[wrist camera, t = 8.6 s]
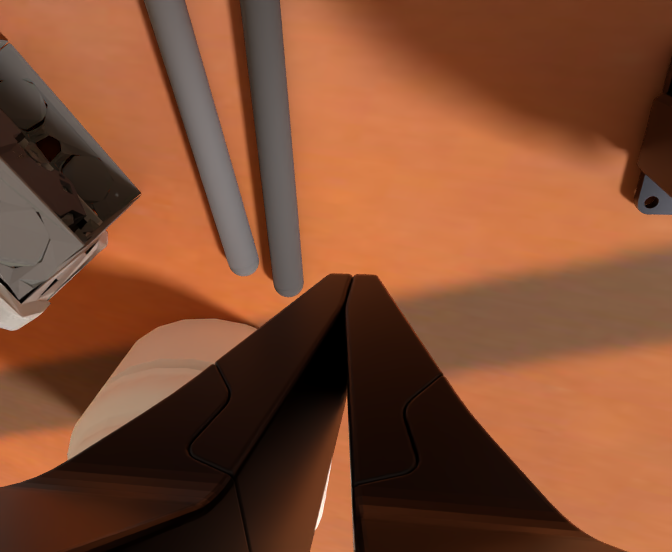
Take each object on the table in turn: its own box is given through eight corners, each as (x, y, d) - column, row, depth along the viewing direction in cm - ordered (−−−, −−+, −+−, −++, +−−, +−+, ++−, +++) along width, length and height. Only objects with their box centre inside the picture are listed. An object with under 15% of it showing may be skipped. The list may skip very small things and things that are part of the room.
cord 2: (272, -142, 17) (261, -151, 16) (307, 287, 25) (301, 303, 24) (230, -139, 17) (216, -147, 16) (278, 286, 25) (272, 302, 24)
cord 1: (152, -134, 17) (133, -141, 16) (265, 265, 25) (257, 280, 24) (115, -124, 18) (94, -130, 16) (237, 268, 25) (229, 283, 24)
